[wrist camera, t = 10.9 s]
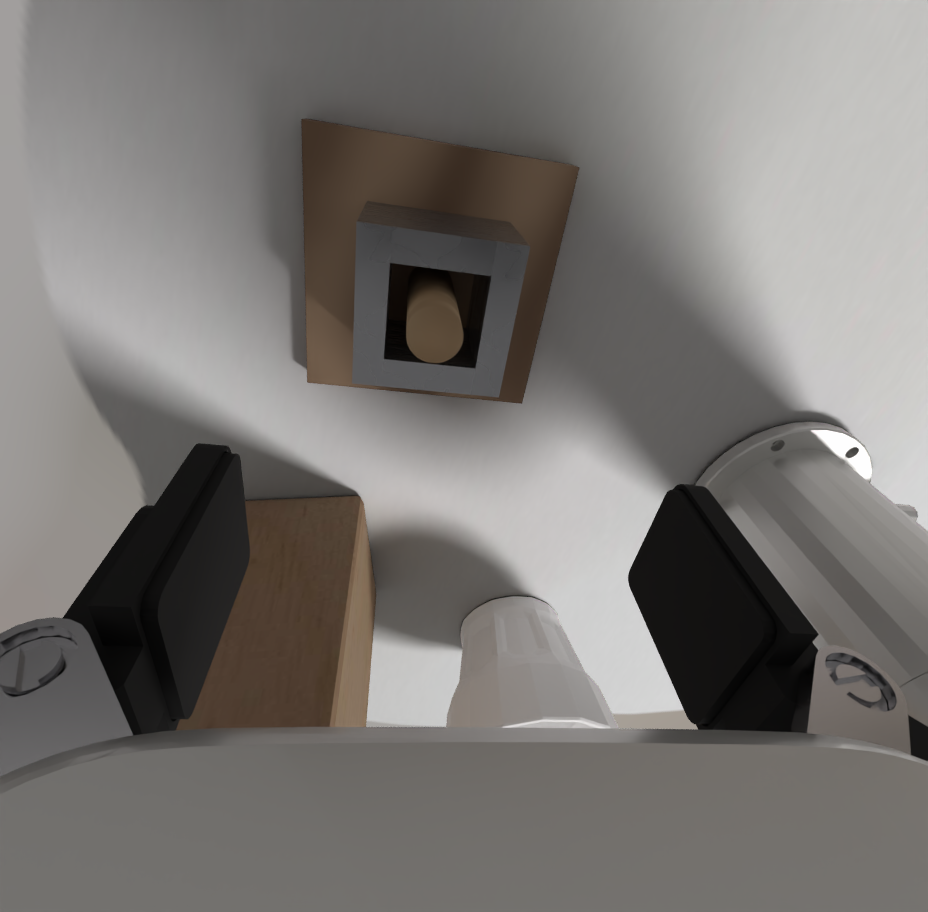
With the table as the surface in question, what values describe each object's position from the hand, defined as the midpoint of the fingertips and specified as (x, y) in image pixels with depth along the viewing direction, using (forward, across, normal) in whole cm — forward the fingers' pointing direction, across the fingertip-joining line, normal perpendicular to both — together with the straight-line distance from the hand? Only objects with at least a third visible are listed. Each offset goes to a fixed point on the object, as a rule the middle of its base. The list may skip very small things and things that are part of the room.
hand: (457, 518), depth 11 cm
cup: (+19, -10, +28) cm, 35 cm away
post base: (+18, 0, 0) cm, 18 cm away
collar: (+17, 0, 0) cm, 17 cm away
